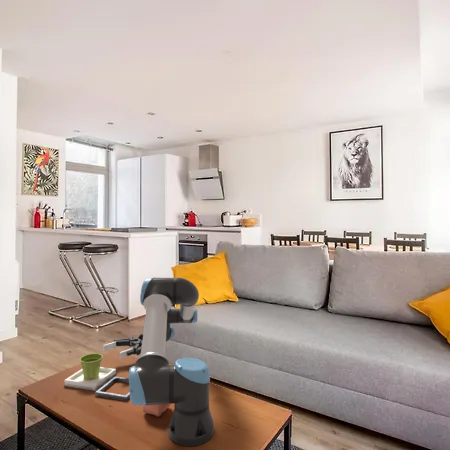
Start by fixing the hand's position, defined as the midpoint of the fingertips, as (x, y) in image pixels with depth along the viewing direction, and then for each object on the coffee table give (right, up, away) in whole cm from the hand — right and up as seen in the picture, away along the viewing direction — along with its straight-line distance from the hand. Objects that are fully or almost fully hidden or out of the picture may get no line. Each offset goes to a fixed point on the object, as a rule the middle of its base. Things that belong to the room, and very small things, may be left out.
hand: (111, 351), depth 152 cm
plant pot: (-7, -9, -7) cm, 13 cm away
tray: (-6, -10, -7) cm, 14 cm away
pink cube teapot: (+27, -11, -30) cm, 42 cm away
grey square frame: (+9, -10, -15) cm, 20 cm away
